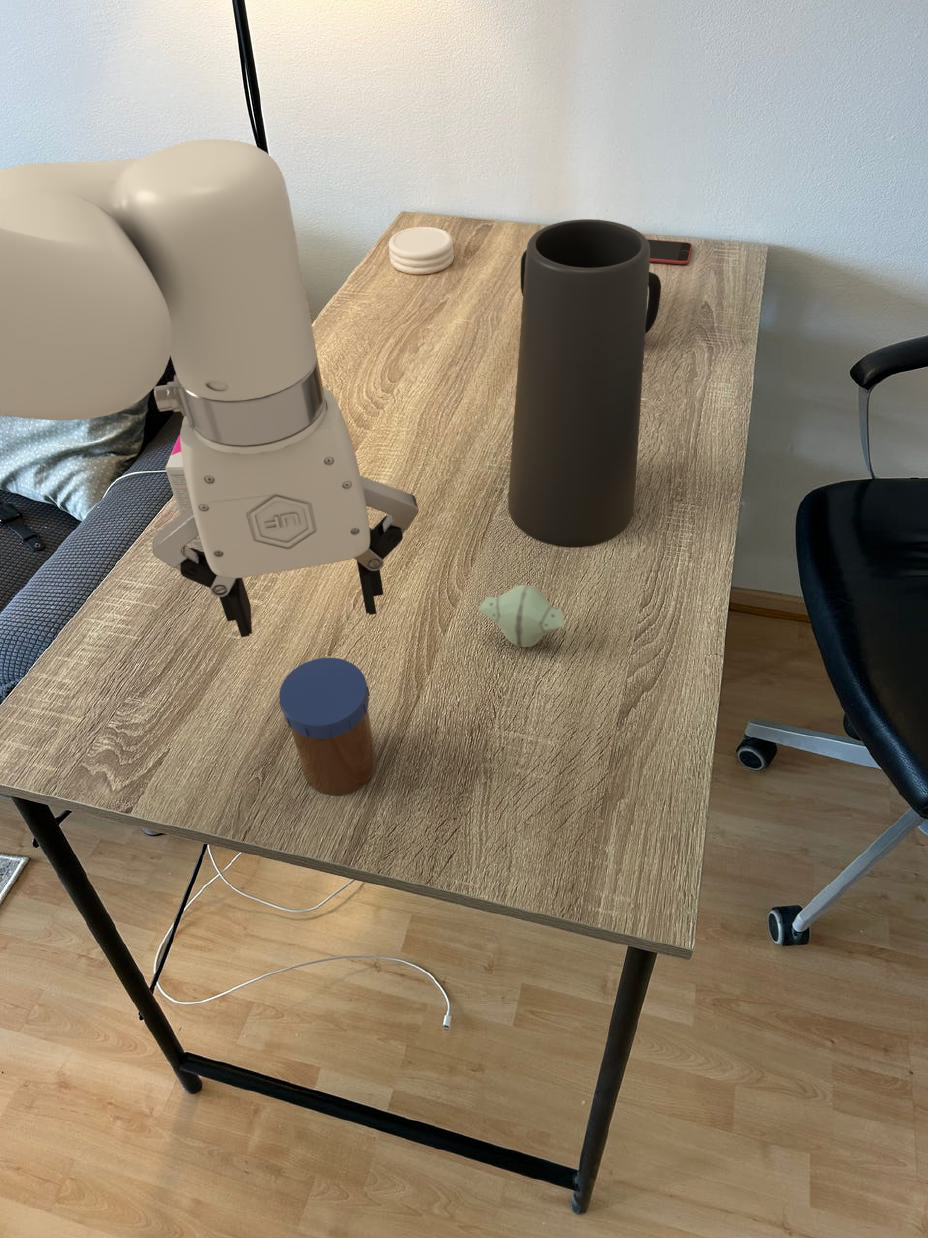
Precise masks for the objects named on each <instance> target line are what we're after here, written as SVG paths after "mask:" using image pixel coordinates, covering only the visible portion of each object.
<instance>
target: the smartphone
mask: <svg viewBox="0 0 928 1238" xmlns="http://www.w3.org/2000/svg"><path fill="white" fill-rule="evenodd" d="M646 239H647V241H648V242H649V245H650V263H659V264H660V263H661V264H672V265H688V264H689V262H690V258H691V255H692V249H693V244H692V243H690V242H687V241H676V240H663V239H662V240H661V239H650V238H646Z"/></svg>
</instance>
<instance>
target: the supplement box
mask: <svg viewBox="0 0 928 1238" xmlns="http://www.w3.org/2000/svg"><path fill="white" fill-rule="evenodd" d="M164 468H165V471H166V475H167V478H168V481H169V483H170V484H169V485H170V487H171V491H172V494H173V498H174V501H175V504H176V507H177V510H178V514H179V516H180V515H181V514H182V513H183V512H184V511H186V510H187V509H188V508H189V507H190V506H192V505H191V501H190V497H189V492H188V488H187V483H186V478H185V474H184V468H183V461H182V453H181V442H180V434H179V435H178V436H177V439H176V442H175V443H174V445H173V449H172V451H171V453H170V456H169V458H168V461H167V463H166V466H165V467H164ZM188 548H194V549H197V550H199V551H201V552H203V553H204V550H203V546H202V543H201V539H200V535H198V536H197V537H196V538H194V539H193V540H192V541H191V542H189V543H188Z"/></svg>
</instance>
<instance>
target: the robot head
mask: <svg viewBox="0 0 928 1238" xmlns="http://www.w3.org/2000/svg"><path fill="white" fill-rule="evenodd" d="M477 611H478V612H480V614H482V615H484V616H485V617H486V618H488V619H490V620H491V621H493V622H494V623H495V624H496V625H497V626H498V627H499V628H500V629H501V631H502V633H503V635H504V637H505V639H507V641H509V643H511V644H512V645H515V646H518V647H520V648H532V647H533V646H535V645H536V644H538V643H539V642H540V641H541V640H542V638H543V637H544V636H545V635H547V634H548V633H550V632H553V631H555V630H559V629H562V628H565V621H564V620H565V619H564V612H563V610H560V609H559V608H555V607H554V606H553V605H552V604H551V603H550V601H549V600H548V599H547V598H546V596H544V595H543V594H542V592H541V591H540V590H539V588H537V587H535V586H532V585H529V584H519V585H517V586H515V587H513V588H511V589H509V590H508V591H506V592H504V593H502V594H501V595H499V596H486V597H485V599H483V602H481V604H480V606H479V607H478V608H477Z"/></svg>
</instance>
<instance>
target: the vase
mask: <svg viewBox="0 0 928 1238" xmlns="http://www.w3.org/2000/svg"><path fill="white" fill-rule="evenodd" d="M647 239H648V238H646V236H645V235H644V234H642V232H640V231H638V230H637V229H635V228H633V227H632V226H628V225H626V224H623V223H619V222H616V221H611V220H605V219H593V218H589V219H587V218H586V219H584V218H583V219H570V220H565V221H560V222H556V223H552V224H549V225H547V226H544V227H543V228H541V229H539V230H537V231H536V232H535V233H534V234H532V236H531V237H530V238H529V240H528V241H527V245H526V249H527V252H526V261H525V275H524V288H523V296H522V302H521V307H522V308H521V316H520V319H521V320H520V329H519V331H520V332H519V333H520V334H519V348H518V359H517V370H516V371H517V372H516V384H515V388H516V389H515V398H514V399H515V401H514V414H513V426H512V439H511V440H512V441H511V453H510V466H509V468H510V469H509V482H508V495H507V496H508V497H507V508H508V512H509V516H510V517H511V520H512V521H513V523H514V524H515V525H516V527H518V529H519V530H520V531H522V532H523V533H525V534H526V535H527V536H529V537H531V538H533V539H535V540H536V541H540V542H542V543H545V544H549V545H553V546H559V547H569V548H570V547H571V548H574V547H575V548H576V547H588V546H589V547H590V546H593V545H598V544H600V543H605V542H606V541H609V540H611V539H612V538H615V537H616V536H618V535H619V534H621V533H622V532H623V531H624V530H625V529H626V528H627V527H628V525H629V524H630V522H631V521H632V518H633V515H634V511H635V510H634V509H635V501H636V500H635V497H636V484H637V468H638V456H639V438H640V437H639V436H640V424H641V406H642V405H641V404H642V390H643V372H644V359H645V344H646V334H645V325H646V311H647V297H648V282H649V272H650V267H651V266H650V263H651V262H650V245H649V242H648V241H647Z"/></svg>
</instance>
